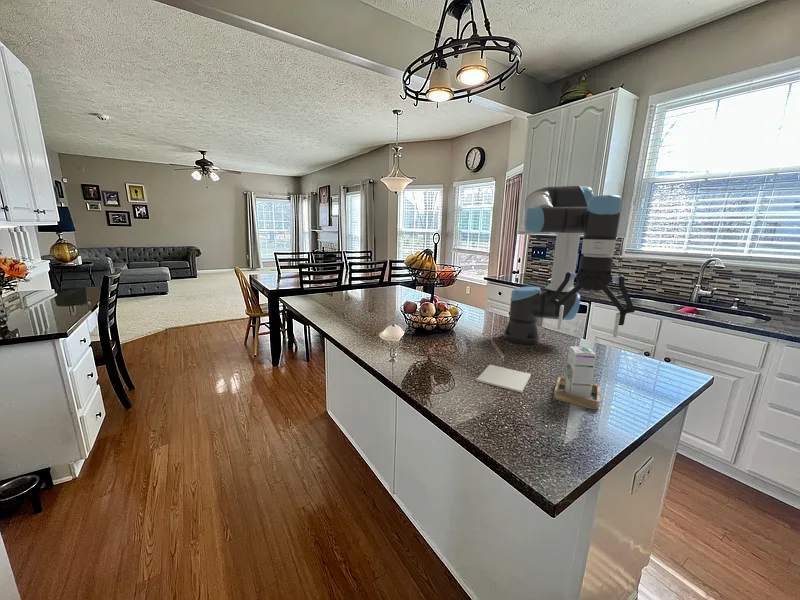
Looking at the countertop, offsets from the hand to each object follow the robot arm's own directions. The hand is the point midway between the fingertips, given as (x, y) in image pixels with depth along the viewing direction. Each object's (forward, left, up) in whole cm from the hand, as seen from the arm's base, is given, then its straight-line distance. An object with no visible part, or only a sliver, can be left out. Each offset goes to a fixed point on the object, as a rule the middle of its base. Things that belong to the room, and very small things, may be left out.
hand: (585, 331), depth 92 cm
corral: (0, 0, -20) cm, 20 cm away
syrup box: (0, 0, -20) cm, 20 cm away
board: (0, -21, -20) cm, 29 cm away
